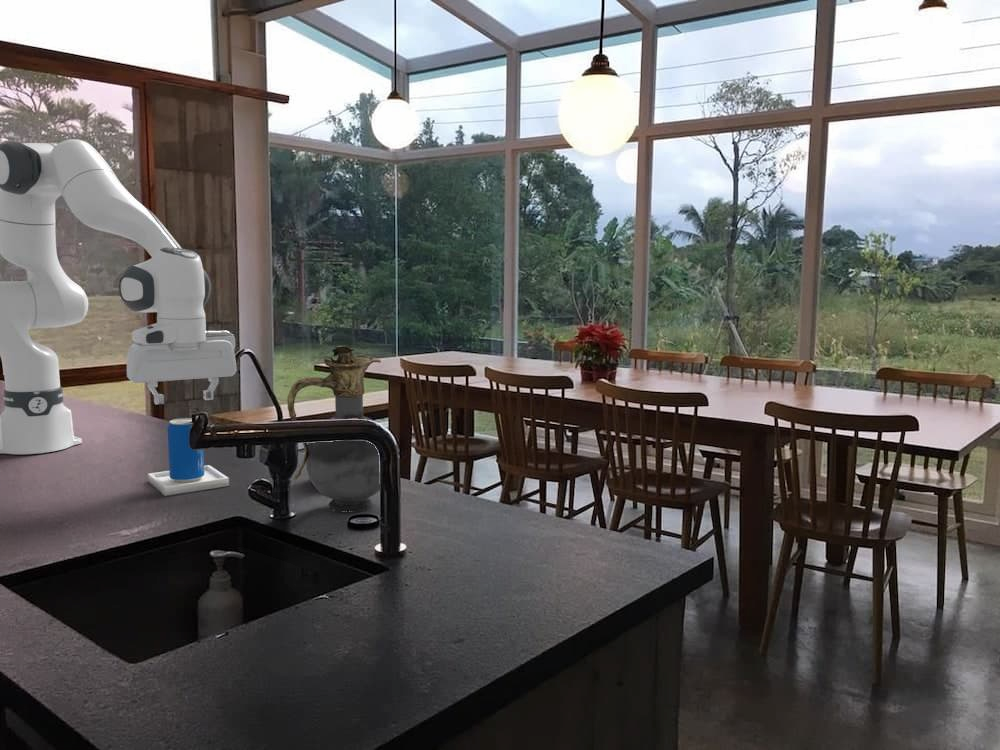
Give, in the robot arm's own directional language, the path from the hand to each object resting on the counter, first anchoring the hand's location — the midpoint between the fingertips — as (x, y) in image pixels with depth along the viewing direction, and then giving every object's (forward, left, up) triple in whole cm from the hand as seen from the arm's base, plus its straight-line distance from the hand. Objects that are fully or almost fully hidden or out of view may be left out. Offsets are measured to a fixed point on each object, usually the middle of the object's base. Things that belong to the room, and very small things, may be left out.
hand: (184, 401), depth 160 cm
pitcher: (+32, +18, -17) cm, 41 cm away
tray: (0, 0, -17) cm, 17 cm away
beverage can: (0, 0, -16) cm, 16 cm away
